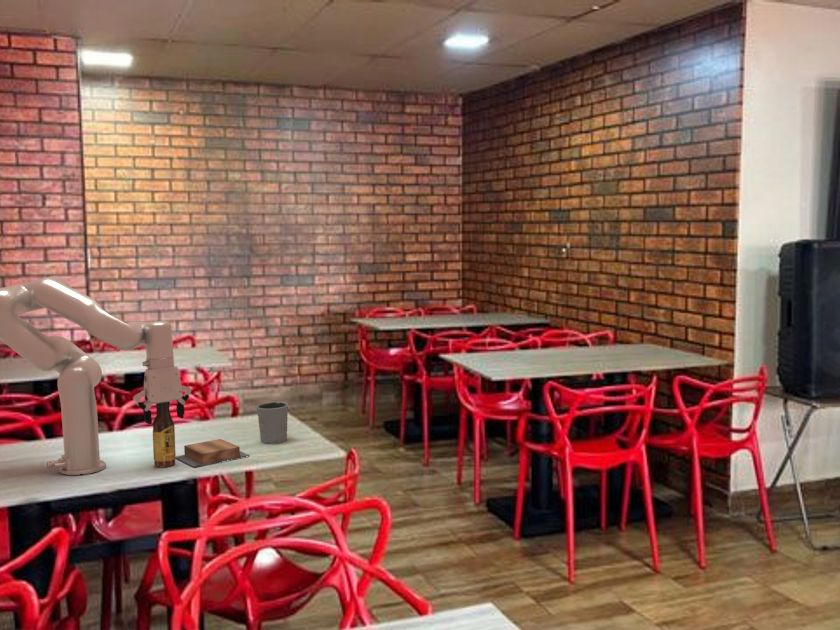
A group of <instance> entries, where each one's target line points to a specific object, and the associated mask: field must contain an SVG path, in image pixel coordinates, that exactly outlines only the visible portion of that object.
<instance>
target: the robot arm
mask: <svg viewBox="0 0 840 630" xmlns="http://www.w3.org/2000/svg"><path fill="white" fill-rule="evenodd" d="M42 309H46V310H48V311H50V312H52V313H55V314H56V315H58V316H60V317H62V318H64V319H66V320H68V321H70V322H72V323H74V324H76V325H78V326H79V327H80V328H82V329H83V330H85V331H86V332H88V333H89V334H90V335H92V336H93V337H95V338H96V339H98V340H100V341H102V342H104V343H106V344H108V345H110V346H112V347H114V348H116V349H118V350H121V351H126V352H127V351H133V350H134V349H136V348H138V347H140V346H144V345H145V351H146V352H145V353H146V358H145V361H142V363H141V364H142V367H146V368H145V370H144V379H143V390H141V391H140V392H139V393H137V394H135V395H134V396H132V399H133V401H134V402H135V404H136V406H138V408H140V409H141V410H142V412H143V421H144V422H145V423H146V424H147V425H151V424H152V425H153V420H152V419H153V418H152V411H151V410H150V409H151V408H152V406H153V405H156V404H158V403H164V402H170V403H171V402H175V401H176V402H177V403H176V405H175V406H176V416H177V418H180V419H184V417H185V404H186V402H187V401H188V400H189V398H190V395H191V393H192V388H191V387H188V386H186V385H184V384H183V385H182V381H181V375H180V372H179V369H178V366H177V365H175V359H174V344H173V330H172V324H171V322H169V321H168V320H167V321H166V320H156V321H155V320H153V321H148V322H147V321H138V320H137V321H135V320H134V321H133V320H132V321H128V322H125V321H122V320H120V319H118V318H117V317H115V316H113V315H111V314H109V313H108V312H106V311H105V310H104V309H103V308H102V307H101V306H100V305H99V303H98V301H97V300H95V299H94V298H93V297H90V296H88V295H87V294H84V293H83V292H81V291H78V290H77V289H75V288H73V287H71V285H70V284H69V281H67V280H66V279H65V278H63V277H61V276H56V275H55V276H54V275H51V276H47V277H46V276H45V277H42V278H40V279H38V280H35V281H34V280H33V281H30V282H24V283H21V284H16V285H11V286H5V287H0V341H1V342H2V343H3V344H5V345H6V346H8V348H10V349H11V350H12V351H14V352H15V353H17V354H18V355H19V356H20V357H22V358H23V359H25V361H27V362H28V363H30V364H31V365H32V366H34V367H35V368H36V370H37V369H38V370H39V371H41V372H52V371H54V370H55V372H56V373H58V378H57V389H58V390H57V391H58V395H59V401H60V409H61V410H60V411H61V424H62V438H63V439H62V440H63V454H62V455H61V456H60V458H58V459H57V460H49V461H47V462H46V468H47V469H51V468H53V469H59V473H60V474H62V475H65V474H66V476H81V475H80V474H83V475H89V474H93V473H97V472H100V471H103V470H104V469H105V468H107V467H106V466H107V462H105V461H104V460H102V459H101V457H100V456H101V455H100V439H99V421H98V408H97V407H98V406H97V399H96V394H95V387H97V385H99V383H100V382H101V379H102V377H103V376H102V375H103V373H102V372H103V371H102V368H101V365H100V364H99V362H97V361H96V360H95V359H94V358H93V357H91V356H90V355H89V354H87V353H86V352H84V351H83V350H82V349H81V348H80V347H78V346H77V345H75V344H74V343H73V342H72V341H70V340H68V338H66V337H63V336H61V335H50V336H48V335H46V334H45V333H43V332H42V331H40V330H39V329H38V328H37V327H35V326H34V325H33V324H31V323H29V322H28V321H26V320H25V319H23V318H22V317H20V316H19V315H21V314H27V313H30V312H33V311H37V310H42ZM183 391H184V394H183ZM143 397H144V401H145V402H142V400H141V399H142V398H143Z"/></svg>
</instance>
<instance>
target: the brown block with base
mask: <svg viewBox="0 0 840 630" xmlns="http://www.w3.org/2000/svg"><path fill="white" fill-rule="evenodd" d="M183 448H184V454H183V455H176V459H175V460H177V461H180V462H181V463H182V464H183V463H184V464H185V465H187V466H189V467H191V468H193V469H197V468H200V467H205V466H211V465H216V464H220V463H219V462H221V463H223V462H222V461H226V462H228V461H227V460H230V461H232V460H231V459H235V460H237V459H236V458H240V459H242V458H241V457H245V458H247V457H246V456H250V454H248V453H246V452H243V451H241V450H240V446H239V445H236V444H234V443H231V442H229V441H227V440H225V439H222V438H219V439H218V438H217V439H213V440H207V441H201V442H198V443H197V442H196V443H191V444H186V445H184V447H183ZM215 463H216V464H215Z"/></svg>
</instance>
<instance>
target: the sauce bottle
mask: <svg viewBox="0 0 840 630" xmlns="http://www.w3.org/2000/svg"><path fill="white" fill-rule="evenodd" d="M170 404H171V401H170V402H164V403H158V404H155V406H156V407H155V408H156V415H155V417H154V419H153V420H152V445H153V446H152V447H153V448H152V449H153V450H152V452H153V455H152V456H153V461H154V462H153V463H154V466H155V467H156V468H166V467H167V468H168V467H171V466H174V465H175V464H176V460H177V459H176V456H177V455H176V454H177V453H176V435H175V434H176V433H175V432H176V430H175V428H176V427H175V425H176V424H175V422H174V420H173V418H172V416H171V411H170V409H171V408H170Z"/></svg>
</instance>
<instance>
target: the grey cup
mask: <svg viewBox="0 0 840 630" xmlns="http://www.w3.org/2000/svg"><path fill="white" fill-rule="evenodd" d="M256 411H257V419H258V421H257V422H258V427H259V428H258V429H259V437H260V442H261V443H263V444H267V445H275V444H276V445H277V444H282V443H286V442H287V440H288V415H289V413H288V411H289V404H288V403H287V402H283V401H267V402H263V403H260V404H259V403H258V405H257V406H256Z"/></svg>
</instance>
